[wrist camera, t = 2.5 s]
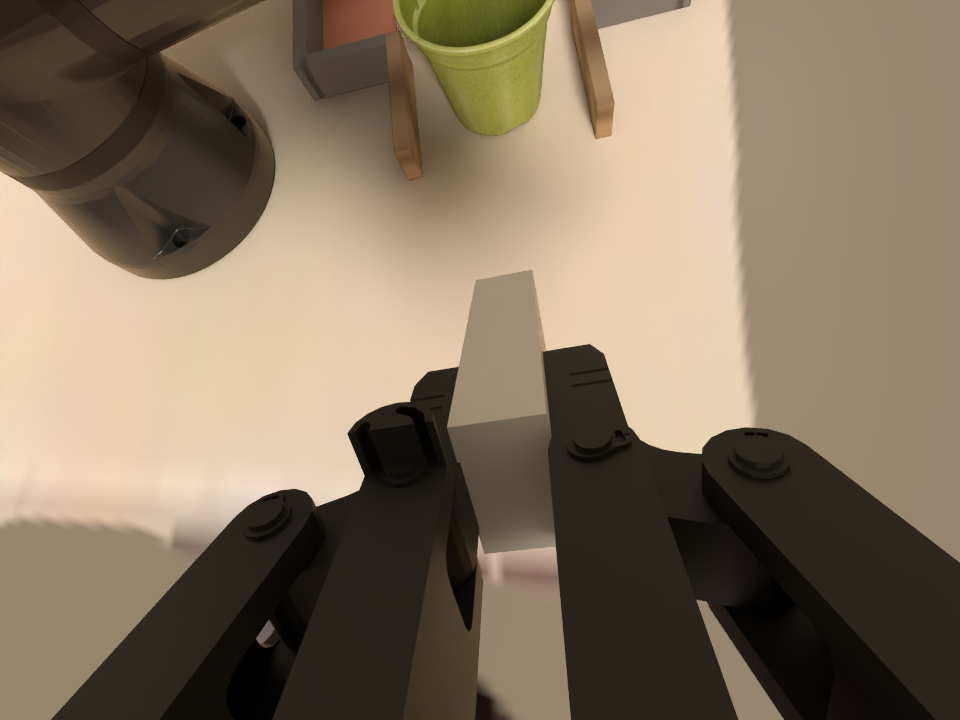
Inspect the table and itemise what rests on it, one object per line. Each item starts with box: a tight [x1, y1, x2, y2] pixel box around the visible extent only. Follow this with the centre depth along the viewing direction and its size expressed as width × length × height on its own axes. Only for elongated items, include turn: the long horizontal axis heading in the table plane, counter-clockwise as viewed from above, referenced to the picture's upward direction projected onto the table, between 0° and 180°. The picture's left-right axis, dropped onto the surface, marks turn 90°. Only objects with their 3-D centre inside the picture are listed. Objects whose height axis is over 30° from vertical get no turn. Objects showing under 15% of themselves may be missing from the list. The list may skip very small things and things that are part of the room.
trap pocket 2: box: [293, 0, 397, 100], centre depth 39 cm, size 12×8×3 cm, turn 7°
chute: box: [385, 0, 614, 180], centre depth 34 cm, size 10×14×3 cm
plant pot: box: [393, 0, 555, 135], centre depth 32 cm, size 9×9×9 cm
